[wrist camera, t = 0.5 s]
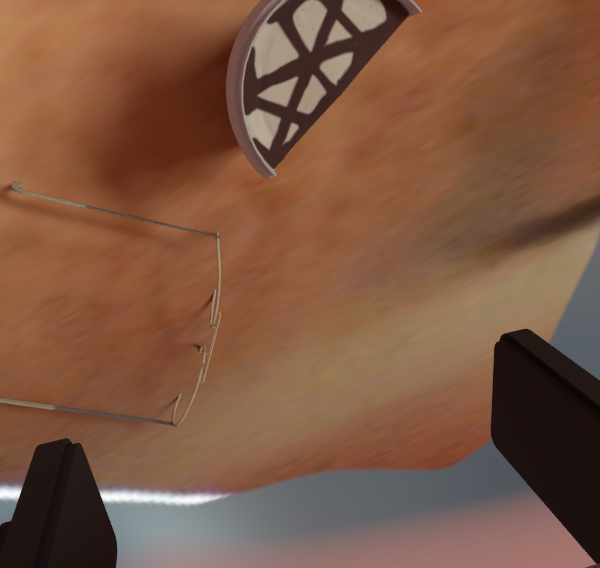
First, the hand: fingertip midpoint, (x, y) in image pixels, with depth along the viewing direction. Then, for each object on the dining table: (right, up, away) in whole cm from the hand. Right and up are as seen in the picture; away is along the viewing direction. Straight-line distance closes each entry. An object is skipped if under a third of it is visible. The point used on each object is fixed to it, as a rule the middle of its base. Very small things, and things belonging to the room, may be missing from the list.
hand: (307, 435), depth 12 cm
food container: (-2, +19, +24) cm, 30 cm away
